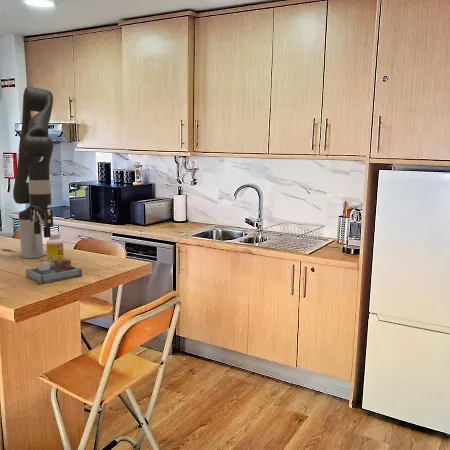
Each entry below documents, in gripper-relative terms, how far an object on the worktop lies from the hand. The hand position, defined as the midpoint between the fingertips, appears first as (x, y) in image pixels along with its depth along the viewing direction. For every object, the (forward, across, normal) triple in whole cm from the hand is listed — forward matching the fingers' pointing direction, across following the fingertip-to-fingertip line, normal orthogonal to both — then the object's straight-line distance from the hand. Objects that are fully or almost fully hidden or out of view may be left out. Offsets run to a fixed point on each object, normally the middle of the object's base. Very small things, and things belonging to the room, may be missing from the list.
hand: (42, 235), depth 177 cm
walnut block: (+15, 0, -7) cm, 17 cm away
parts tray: (+16, 0, -4) cm, 17 cm away
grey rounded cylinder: (+15, 0, 0) cm, 16 cm away
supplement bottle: (+17, +20, -14) cm, 29 cm away
